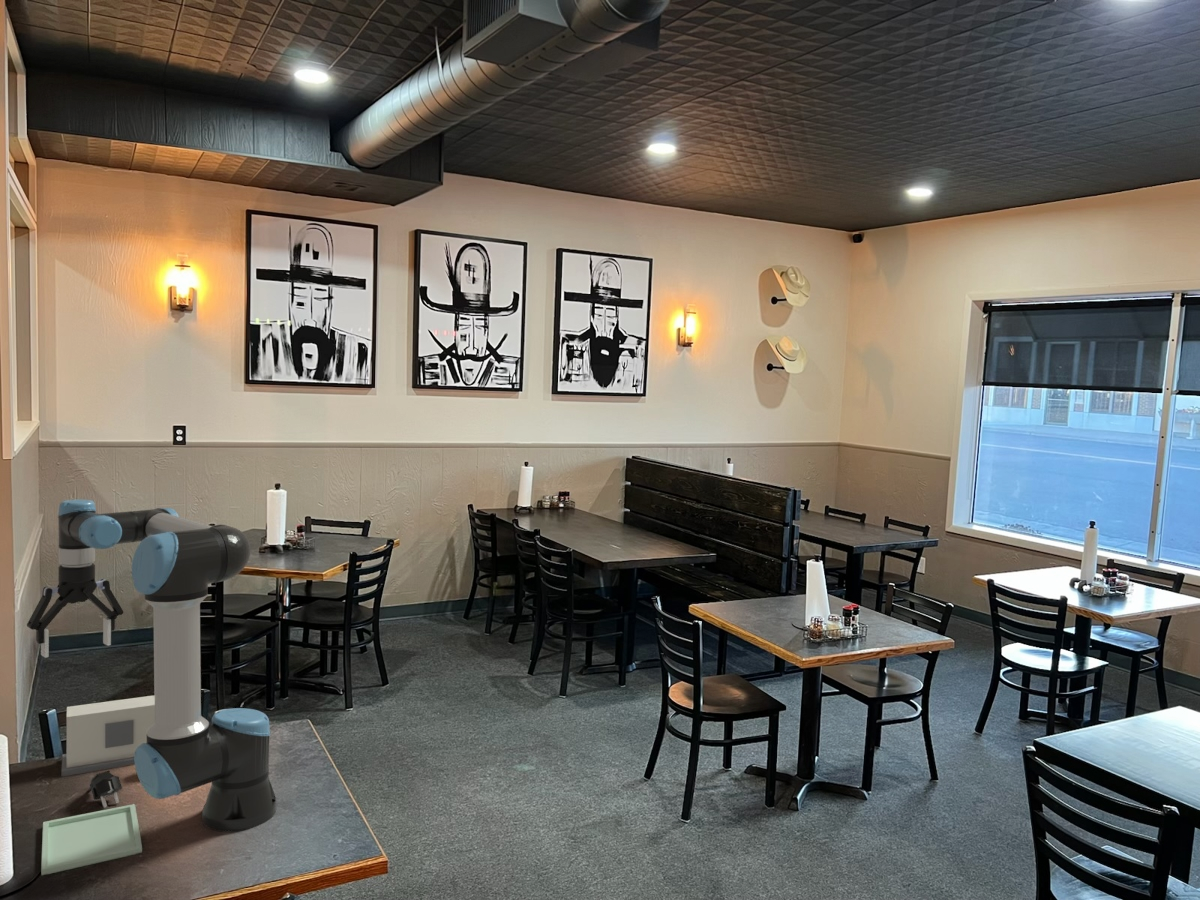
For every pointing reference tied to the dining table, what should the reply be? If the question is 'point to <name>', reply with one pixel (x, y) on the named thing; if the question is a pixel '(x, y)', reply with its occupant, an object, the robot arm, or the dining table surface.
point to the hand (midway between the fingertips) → (76, 650)
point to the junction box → (106, 734)
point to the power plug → (105, 786)
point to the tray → (90, 839)
